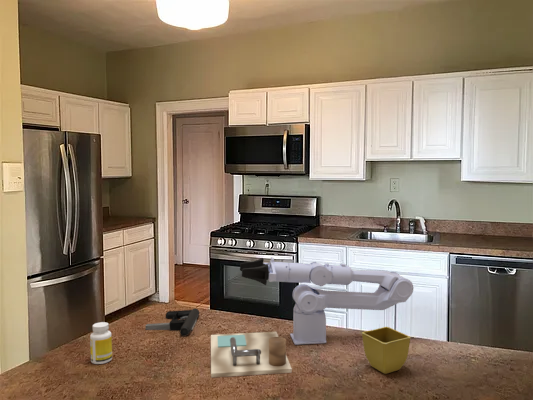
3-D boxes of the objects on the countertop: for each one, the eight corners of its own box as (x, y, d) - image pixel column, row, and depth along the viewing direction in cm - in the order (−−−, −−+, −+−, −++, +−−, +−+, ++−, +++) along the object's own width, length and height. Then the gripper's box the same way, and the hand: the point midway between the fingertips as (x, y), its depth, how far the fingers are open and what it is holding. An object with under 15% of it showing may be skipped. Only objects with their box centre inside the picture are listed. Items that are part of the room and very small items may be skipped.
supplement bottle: (116, 358, 123) (115, 322, 122) (101, 366, 118) (100, 329, 117) (101, 354, 125) (100, 320, 124) (86, 362, 120) (84, 326, 119)
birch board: (276, 334, 139) (276, 331, 139) (291, 372, 114) (291, 368, 113) (210, 338, 137) (210, 334, 137) (211, 377, 111) (211, 373, 111)
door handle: (139, 329, 138) (192, 326, 138) (156, 309, 158) (202, 306, 158) (140, 340, 138) (193, 337, 138) (157, 318, 158) (203, 316, 158)
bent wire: (257, 348, 126) (257, 335, 126) (261, 364, 116) (261, 350, 115) (229, 350, 125) (229, 336, 125) (231, 366, 115) (231, 352, 114)
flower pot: (383, 379, 110) (384, 343, 109) (360, 365, 117) (360, 331, 117) (410, 372, 114) (411, 336, 113) (386, 359, 121) (387, 326, 121)
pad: (244, 335, 136) (244, 334, 136) (246, 346, 128) (246, 344, 128) (217, 337, 135) (217, 336, 135) (218, 347, 127) (218, 346, 127)
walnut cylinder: (284, 358, 119) (284, 336, 119) (287, 365, 115) (287, 342, 115) (267, 359, 119) (267, 337, 119) (270, 366, 115) (270, 343, 114)
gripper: (284, 254, 140) (240, 251, 138) (292, 263, 126) (244, 261, 124) (282, 276, 141) (238, 274, 139) (290, 288, 126) (242, 286, 124)
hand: (241, 269), depth 131 cm, fingers open, 7 cm apart
